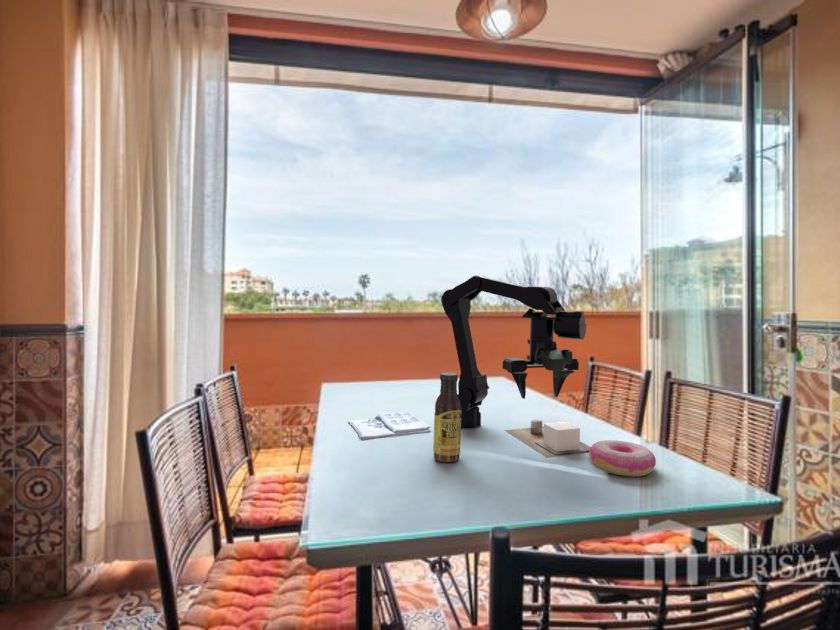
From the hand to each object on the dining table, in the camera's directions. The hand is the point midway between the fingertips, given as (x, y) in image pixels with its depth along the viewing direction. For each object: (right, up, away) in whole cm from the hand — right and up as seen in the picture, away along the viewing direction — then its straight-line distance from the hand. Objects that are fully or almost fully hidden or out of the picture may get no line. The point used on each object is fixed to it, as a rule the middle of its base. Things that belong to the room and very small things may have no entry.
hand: (539, 397), depth 121 cm
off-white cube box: (+4, -11, -7) cm, 13 cm away
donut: (+14, -13, -17) cm, 25 cm away
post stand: (+2, -12, -1) cm, 12 cm away
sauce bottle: (-24, -13, -11) cm, 29 cm away
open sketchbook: (-40, -12, +16) cm, 45 cm away
